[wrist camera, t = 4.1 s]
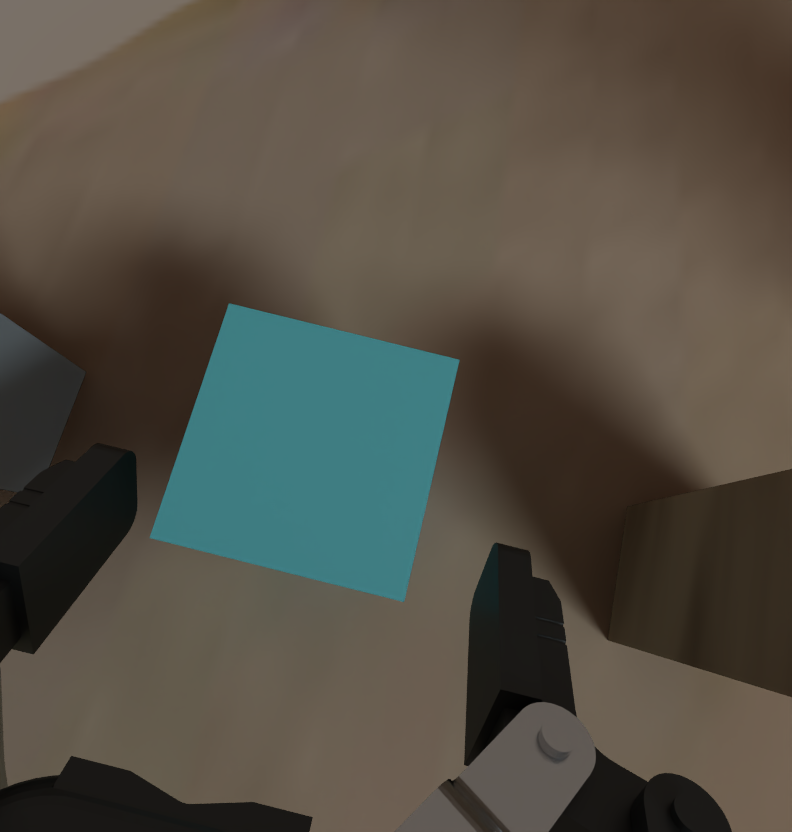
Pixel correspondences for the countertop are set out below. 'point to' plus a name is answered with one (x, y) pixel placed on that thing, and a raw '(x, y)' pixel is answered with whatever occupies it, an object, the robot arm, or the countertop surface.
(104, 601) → the countertop surface
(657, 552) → the walnut block
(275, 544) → the teal block
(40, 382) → the charcoal block
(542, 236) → the countertop surface
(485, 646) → the robot arm
